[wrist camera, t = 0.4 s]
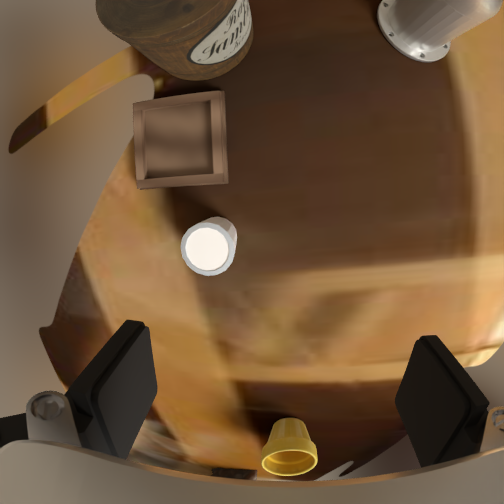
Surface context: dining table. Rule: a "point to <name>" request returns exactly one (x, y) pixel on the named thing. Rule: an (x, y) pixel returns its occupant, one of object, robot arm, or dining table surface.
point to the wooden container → (183, 33)
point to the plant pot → (289, 449)
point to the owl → (235, 473)
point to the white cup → (209, 246)
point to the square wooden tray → (181, 141)
